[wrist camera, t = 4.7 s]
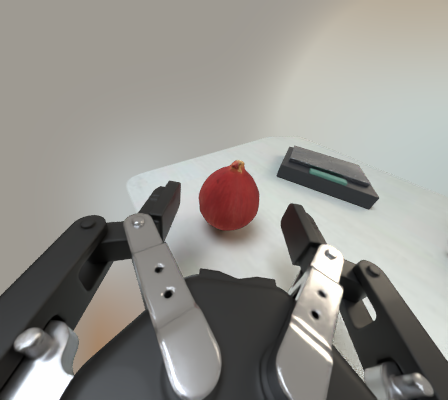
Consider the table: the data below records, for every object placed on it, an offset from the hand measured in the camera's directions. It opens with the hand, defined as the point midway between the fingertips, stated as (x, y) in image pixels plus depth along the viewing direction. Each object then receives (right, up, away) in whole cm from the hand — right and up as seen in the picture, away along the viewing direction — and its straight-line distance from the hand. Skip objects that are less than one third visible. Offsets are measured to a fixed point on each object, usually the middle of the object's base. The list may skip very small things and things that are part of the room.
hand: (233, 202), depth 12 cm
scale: (+19, +5, +23) cm, 30 cm away
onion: (-1, -3, +6) cm, 7 cm away
